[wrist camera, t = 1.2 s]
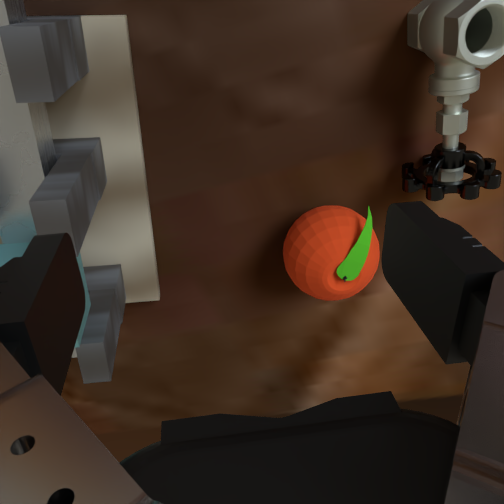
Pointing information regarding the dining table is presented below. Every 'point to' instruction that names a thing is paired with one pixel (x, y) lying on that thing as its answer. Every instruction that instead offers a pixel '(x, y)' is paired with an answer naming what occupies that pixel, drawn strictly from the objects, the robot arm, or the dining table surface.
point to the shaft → (20, 147)
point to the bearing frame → (90, 164)
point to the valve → (454, 90)
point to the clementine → (331, 252)
